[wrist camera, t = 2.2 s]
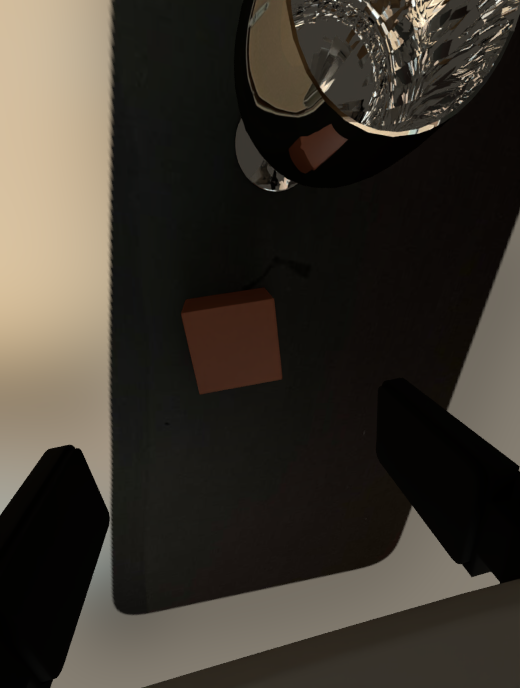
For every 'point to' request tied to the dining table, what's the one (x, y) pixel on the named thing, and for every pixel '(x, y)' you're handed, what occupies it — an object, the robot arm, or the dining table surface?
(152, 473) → the dining table surface
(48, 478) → the robot arm
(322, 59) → the wineglass
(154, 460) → the dining table surface
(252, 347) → the block
